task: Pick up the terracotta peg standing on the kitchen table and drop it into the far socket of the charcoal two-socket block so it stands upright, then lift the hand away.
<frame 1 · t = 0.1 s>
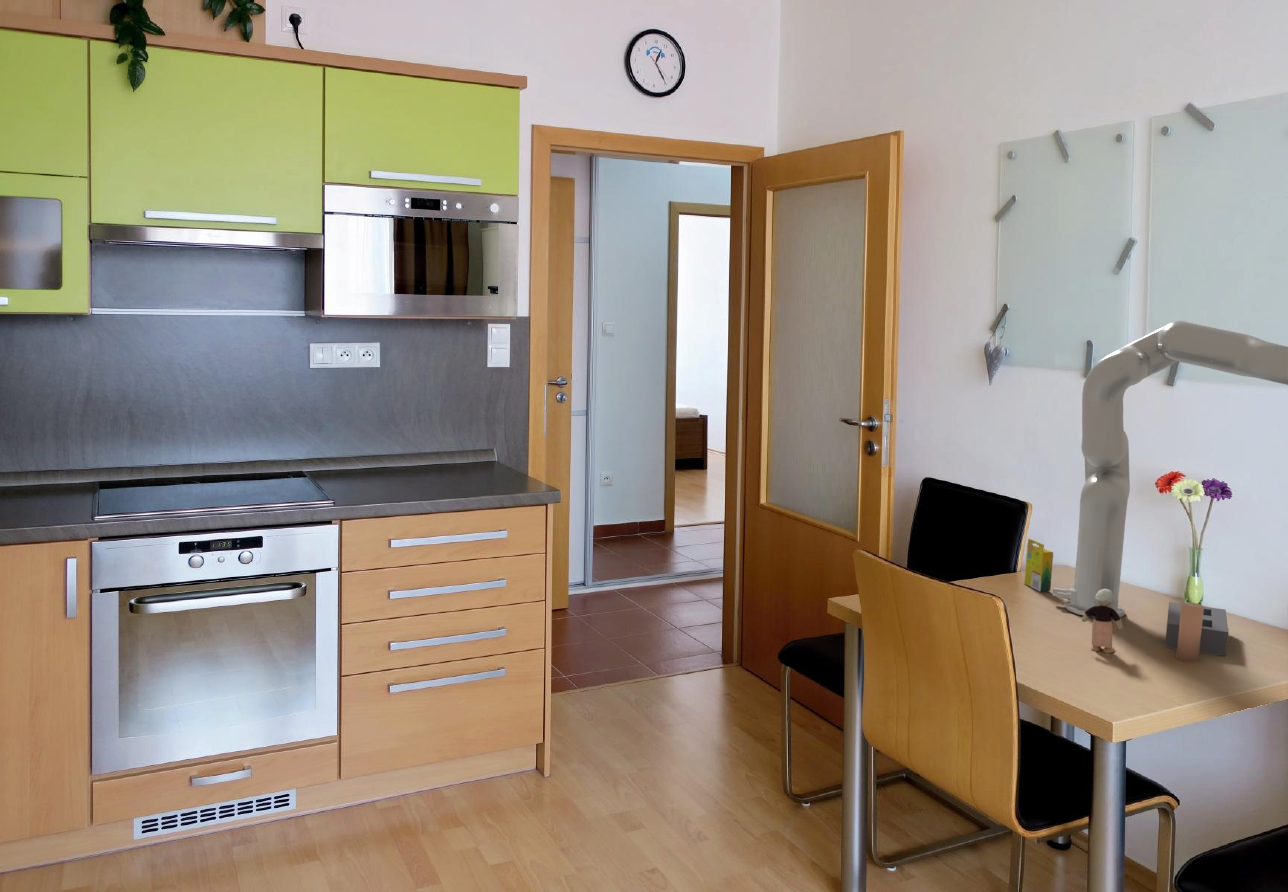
terracotta peg: (1187, 658, 217), on the table
grandmother figurine: (1099, 650, 221), on the table
socket block: (1195, 639, 229), on the table
crayon box: (1037, 588, 267), on the table
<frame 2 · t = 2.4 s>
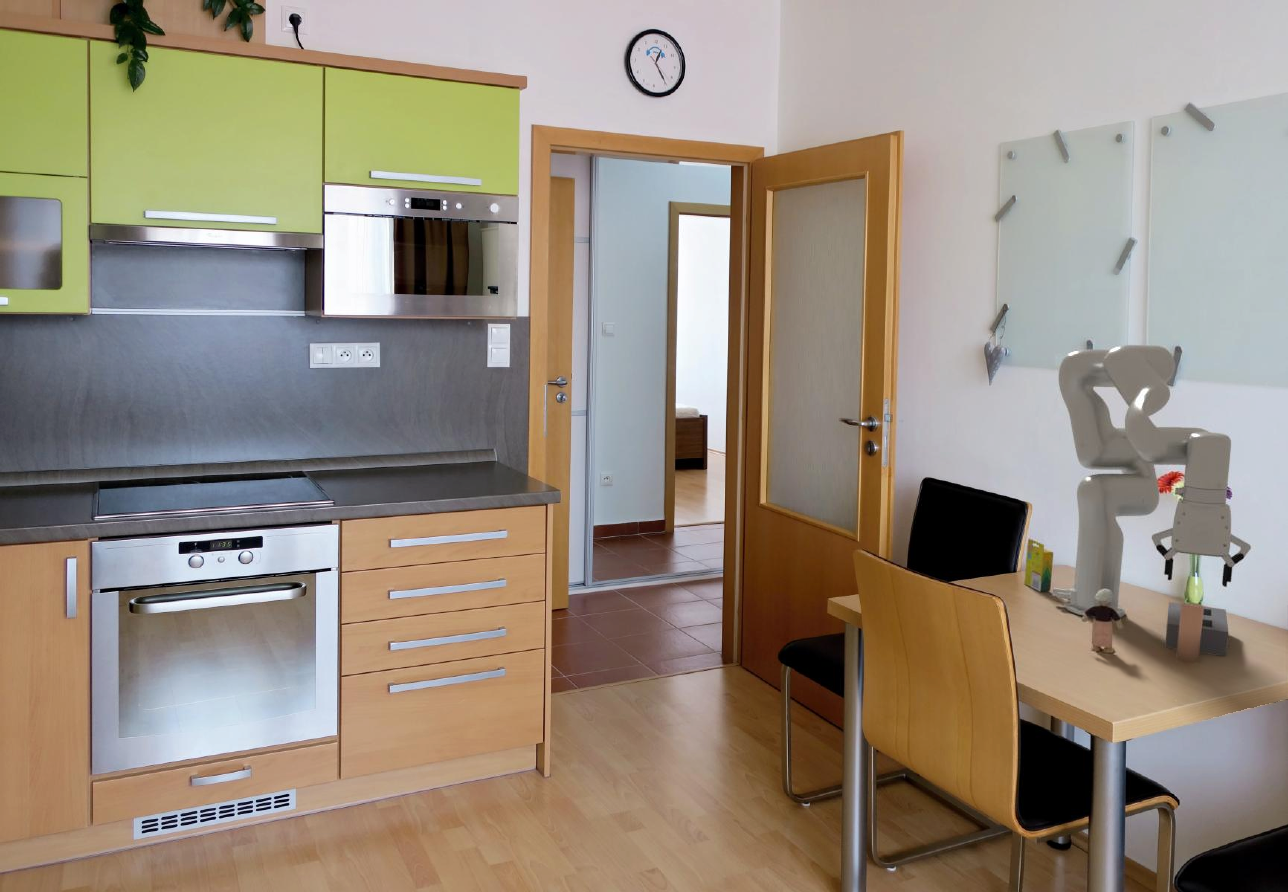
hand: (1196, 581, 214), 16 cm above the table, fingers open, 9 cm apart
nothing on the table moved.
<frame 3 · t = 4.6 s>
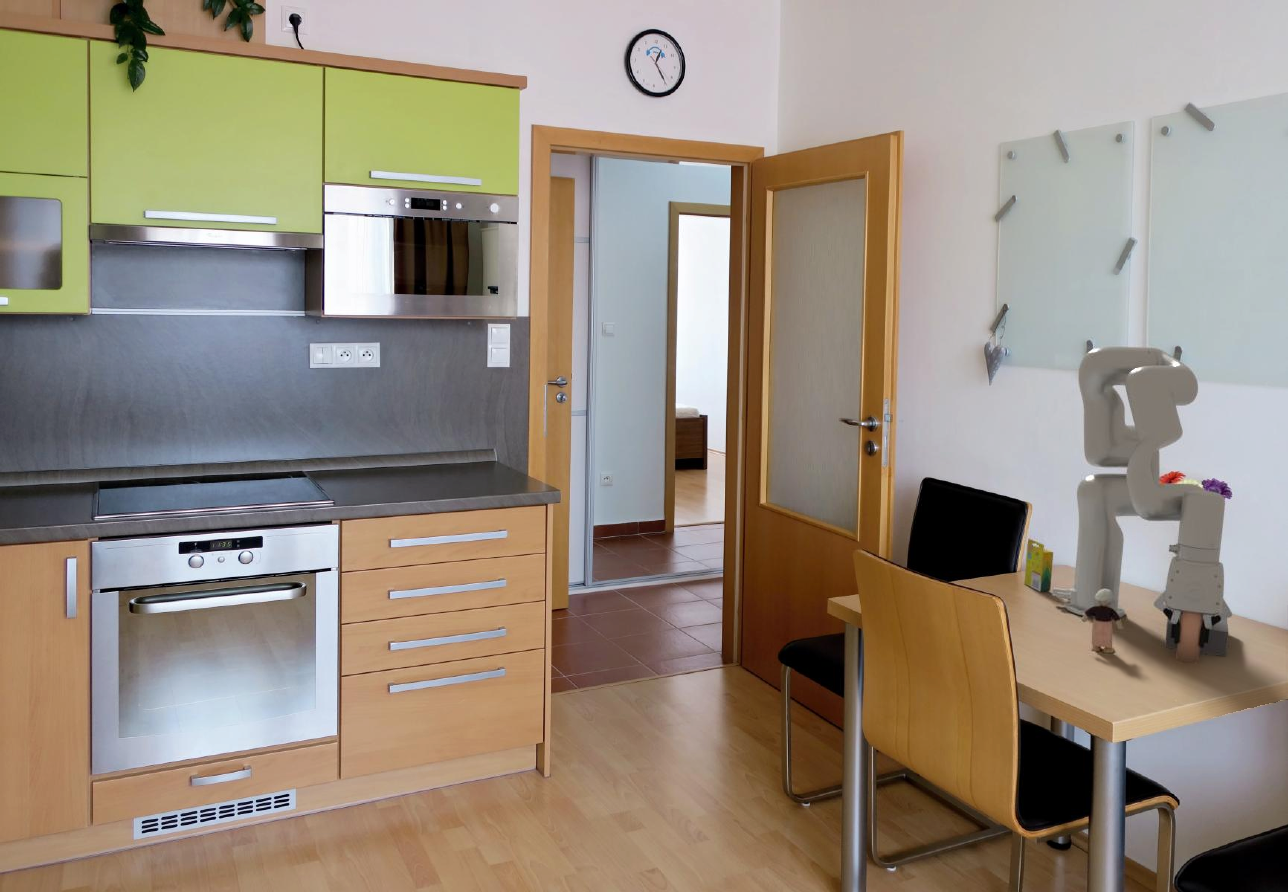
hand: (1188, 642, 216), 3 cm above the table, fingers closed on terracotta peg, 4 cm apart
terracotta peg: (1187, 658, 217), on the table, touching gripper
everything else where it was.
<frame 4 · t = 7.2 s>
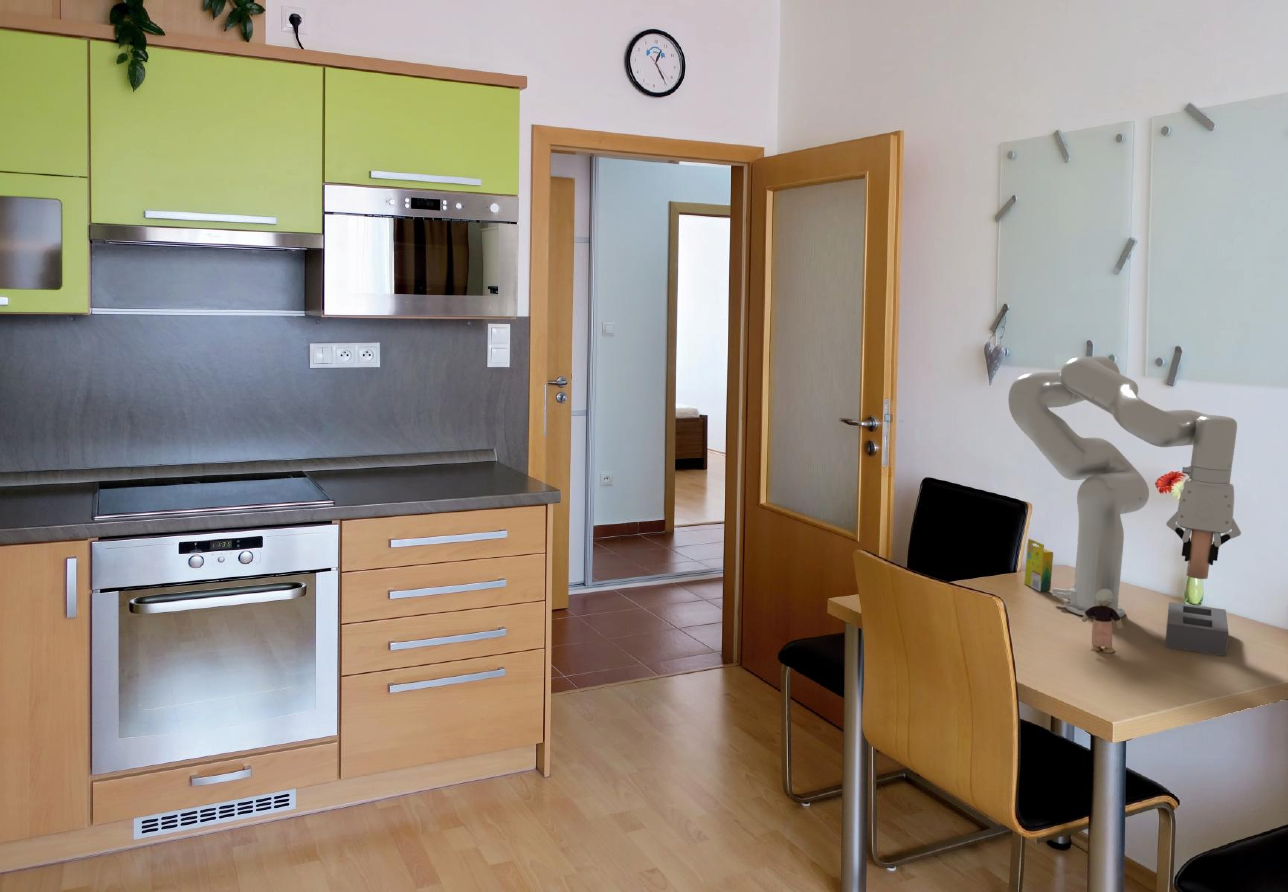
hand: (1198, 560, 227), 17 cm above the table, fingers closed on terracotta peg, 4 cm apart
terracotta peg: (1196, 576, 228), point 14 cm above the table, touching gripper
everything else where it was.
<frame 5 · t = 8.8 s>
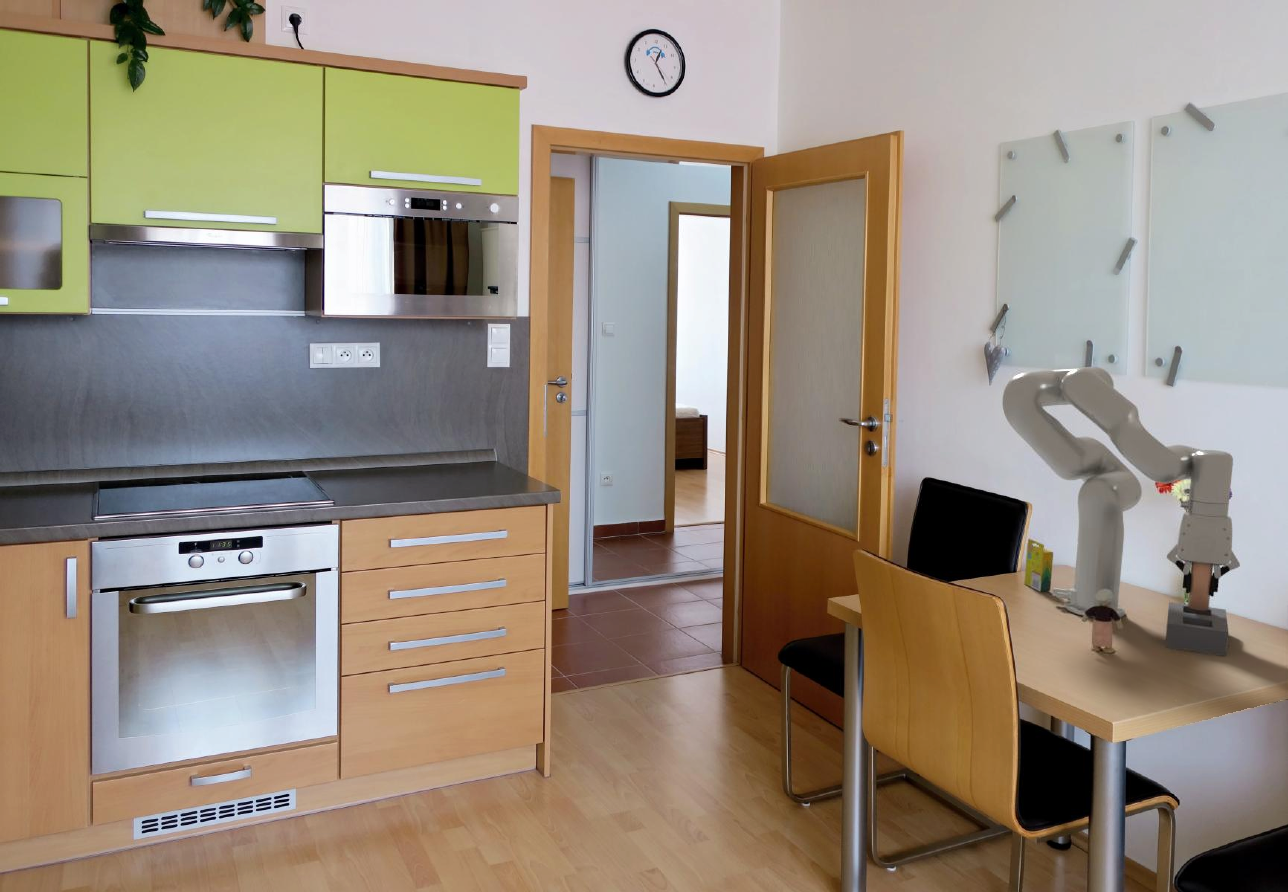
hand: (1199, 592, 232), 9 cm above the table, fingers closed on terracotta peg, 4 cm apart
terracotta peg: (1198, 607, 232), point 6 cm above the table, touching gripper
everything else where it was.
when the fingers open (5 cm above the table, at t = 10.1 s): terracotta peg stays where it is, resting on socket block.
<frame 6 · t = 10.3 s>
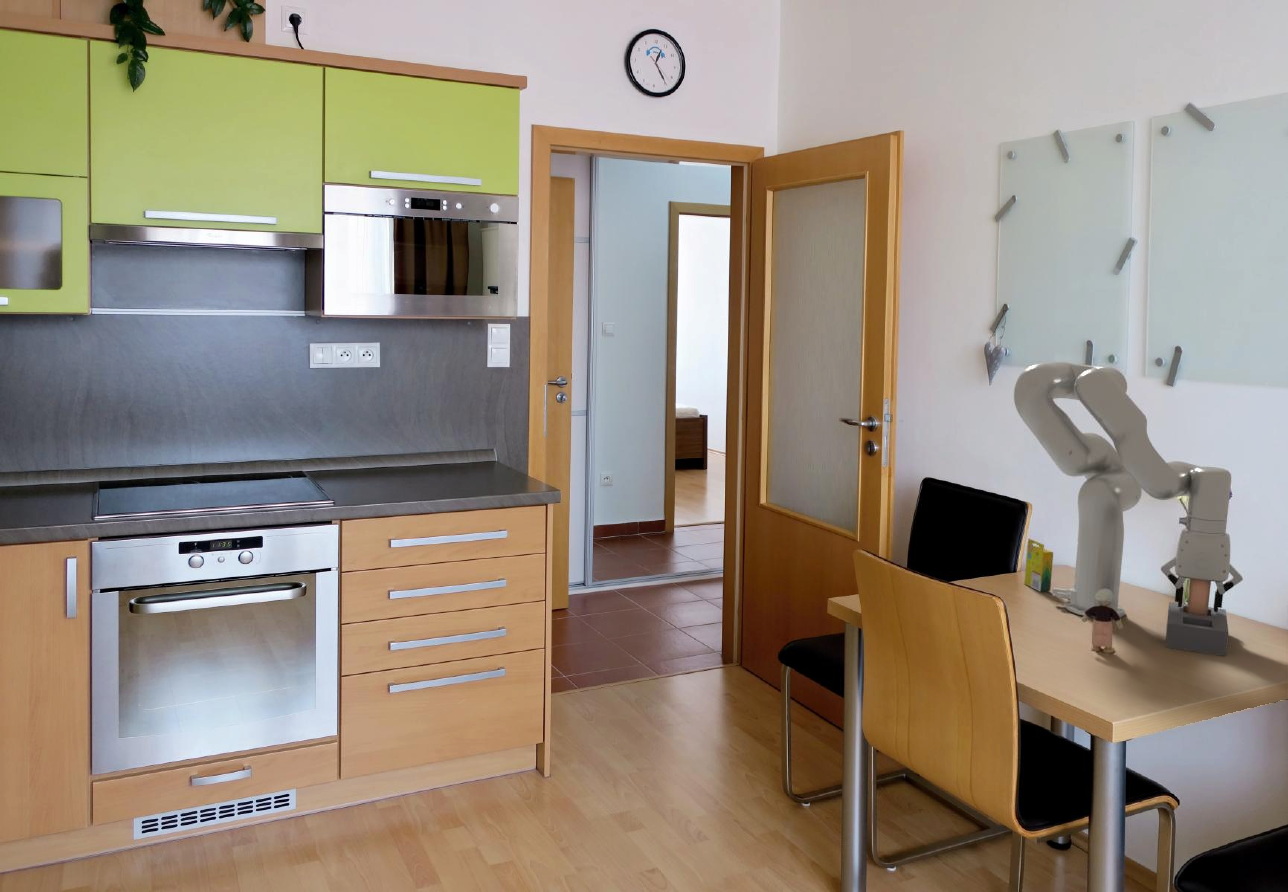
hand: (1197, 607, 233), 6 cm above the table, fingers open, 6 cm apart
terracotta peg: (1195, 626, 233), point 1 cm above the table, touching socket block
everything else where it was.
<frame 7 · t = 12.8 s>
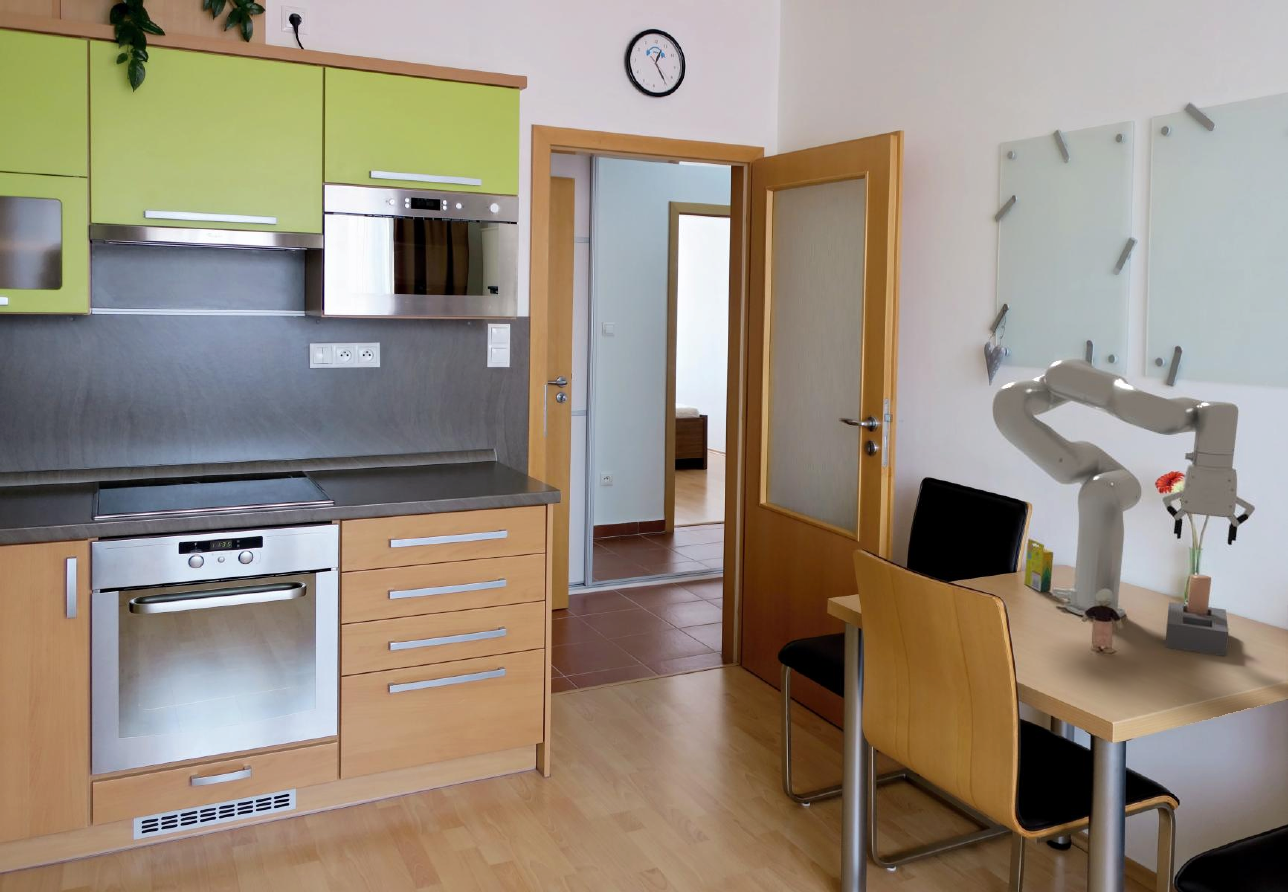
hand: (1203, 540, 231), 20 cm above the table, fingers open, 9 cm apart
nothing on the table moved.
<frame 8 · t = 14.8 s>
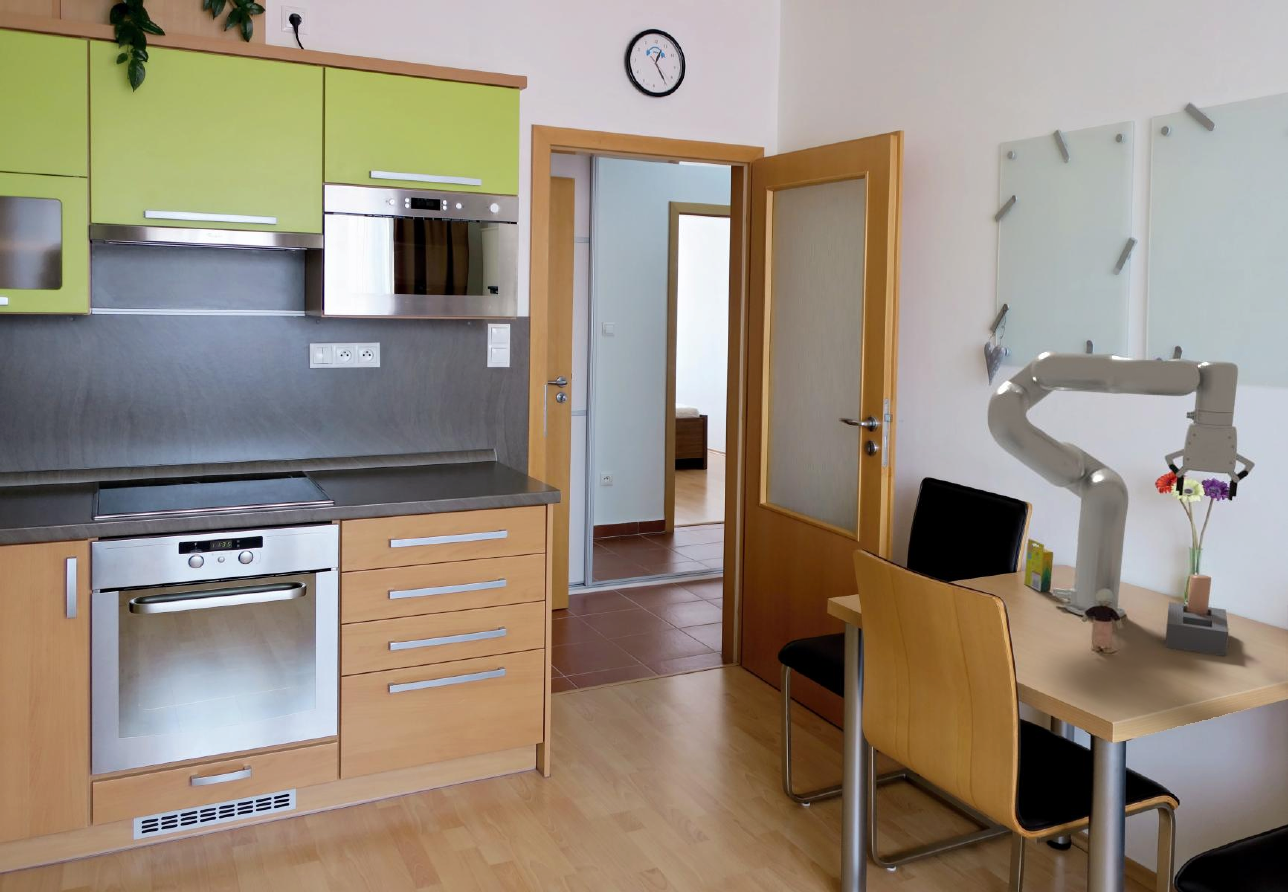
hand: (1205, 497, 237), 28 cm above the table, fingers open, 9 cm apart
nothing on the table moved.
at the end: terracotta peg 0.0 cm from the target spot on the socket block, point 1.5 cm above the socket block's base; terracotta peg tilted 0°; the gripper is holding nothing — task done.
